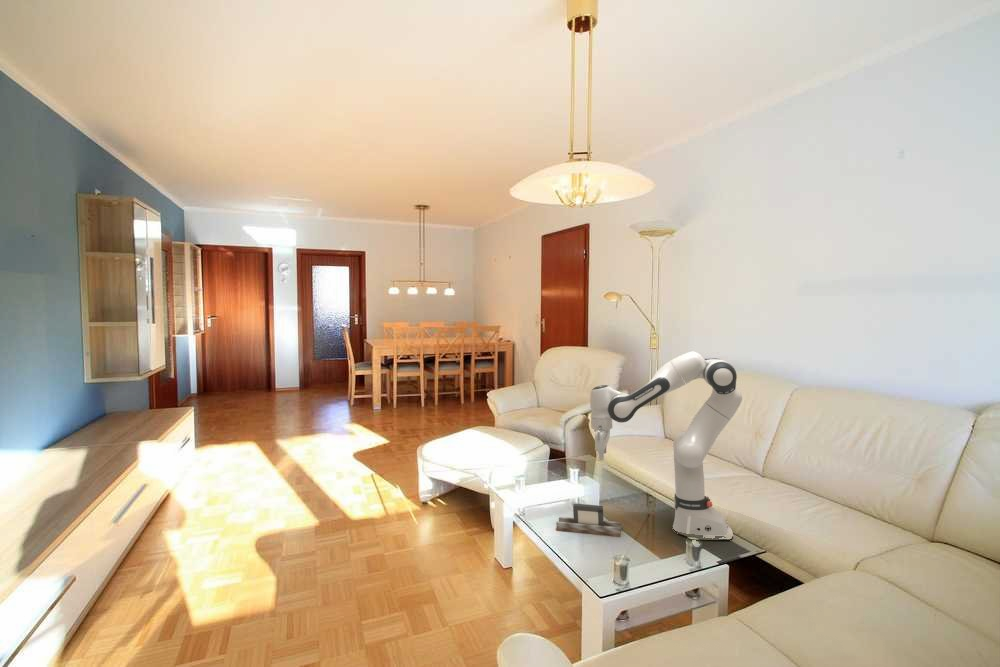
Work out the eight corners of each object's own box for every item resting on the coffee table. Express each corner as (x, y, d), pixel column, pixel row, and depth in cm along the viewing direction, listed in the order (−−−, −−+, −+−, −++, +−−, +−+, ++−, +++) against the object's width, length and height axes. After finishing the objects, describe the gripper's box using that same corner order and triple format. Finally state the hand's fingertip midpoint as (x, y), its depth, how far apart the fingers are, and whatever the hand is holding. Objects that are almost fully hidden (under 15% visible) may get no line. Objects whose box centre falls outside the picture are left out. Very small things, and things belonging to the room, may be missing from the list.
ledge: (621, 528, 201) (621, 521, 201) (620, 537, 193) (619, 529, 193) (560, 522, 209) (559, 515, 209) (556, 530, 202) (555, 523, 202)
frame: (603, 527, 200) (603, 505, 200) (603, 529, 198) (602, 508, 198) (575, 524, 204) (574, 503, 204) (573, 527, 202) (573, 505, 202)
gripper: (606, 429, 194) (607, 463, 194) (611, 419, 213) (612, 450, 213) (590, 429, 196) (591, 463, 196) (597, 418, 215) (598, 449, 215)
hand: (602, 456), depth 205 cm, fingers open, 8 cm apart
